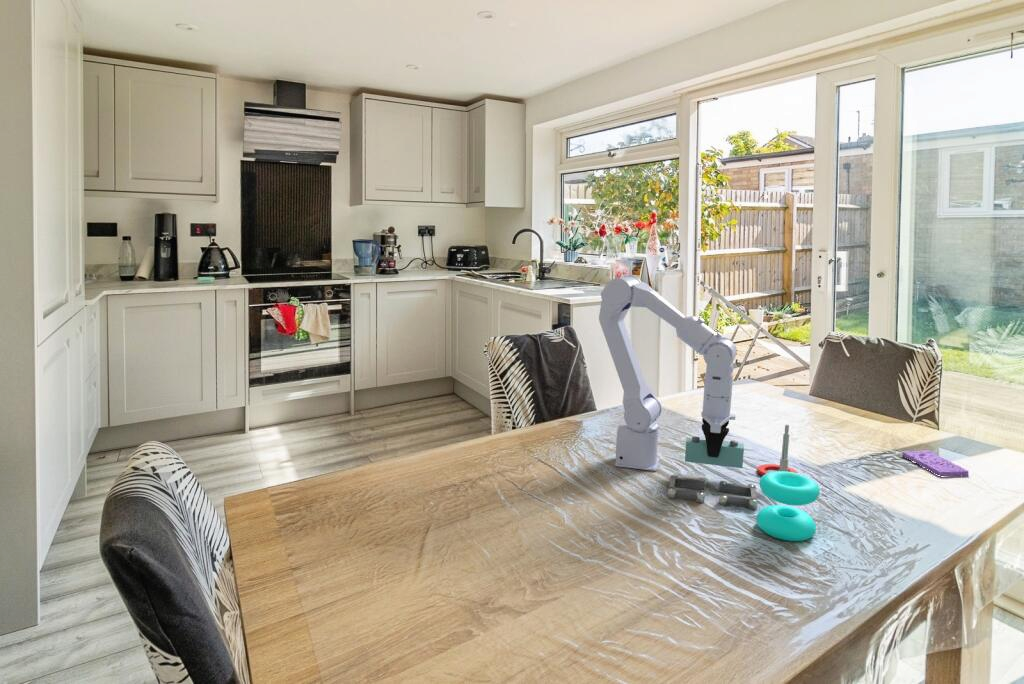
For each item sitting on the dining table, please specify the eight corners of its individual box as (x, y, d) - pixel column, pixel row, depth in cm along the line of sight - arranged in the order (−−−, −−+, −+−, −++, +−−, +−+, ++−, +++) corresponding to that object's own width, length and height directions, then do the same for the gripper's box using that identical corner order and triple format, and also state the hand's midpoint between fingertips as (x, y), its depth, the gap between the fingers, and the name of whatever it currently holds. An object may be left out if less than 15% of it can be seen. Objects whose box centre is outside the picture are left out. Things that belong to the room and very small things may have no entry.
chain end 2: (718, 505, 123) (719, 497, 123) (718, 488, 131) (719, 480, 131) (757, 510, 121) (758, 502, 121) (754, 492, 129) (755, 484, 129)
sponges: (928, 457, 150) (929, 450, 149) (969, 478, 137) (970, 470, 137) (900, 458, 149) (901, 450, 149) (939, 479, 137) (940, 471, 137)
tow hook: (753, 467, 143) (763, 482, 134) (757, 413, 141) (767, 424, 132) (791, 470, 142) (803, 485, 133) (795, 415, 140) (808, 427, 131)
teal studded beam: (684, 461, 137) (686, 438, 136) (685, 456, 139) (686, 434, 138) (742, 468, 133) (744, 445, 132) (741, 463, 136) (743, 440, 135)
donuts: (802, 468, 117) (832, 490, 107) (797, 516, 118) (826, 543, 109) (750, 469, 116) (775, 491, 106) (746, 518, 118) (771, 545, 108)
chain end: (667, 498, 126) (667, 490, 126) (670, 482, 134) (670, 474, 134) (704, 503, 124) (704, 495, 124) (705, 486, 132) (705, 478, 132)
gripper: (738, 405, 125) (732, 468, 128) (736, 387, 139) (731, 444, 141) (702, 402, 127) (697, 463, 130) (703, 384, 141) (699, 441, 144)
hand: (713, 453), depth 136 cm, fingers closed on teal studded beam, 3 cm apart
